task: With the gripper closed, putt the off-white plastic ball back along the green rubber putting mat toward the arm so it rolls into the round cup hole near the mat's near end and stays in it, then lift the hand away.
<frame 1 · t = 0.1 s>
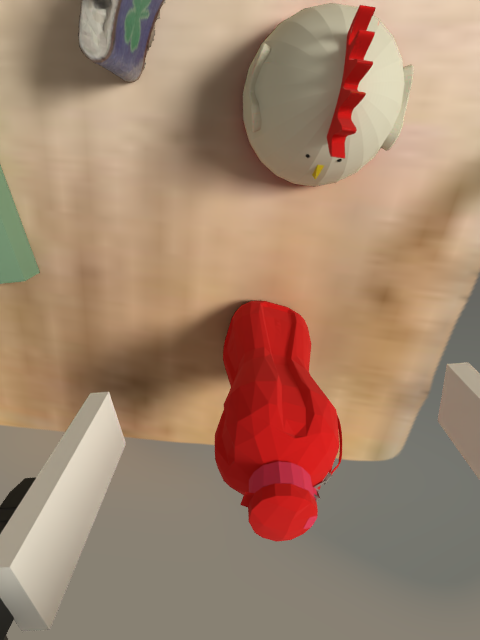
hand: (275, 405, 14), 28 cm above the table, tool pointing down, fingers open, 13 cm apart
water bottle: (271, 334, 45), on the table
kitchen timer: (315, 107, 34), on the table
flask: (142, 25, 32), on the table
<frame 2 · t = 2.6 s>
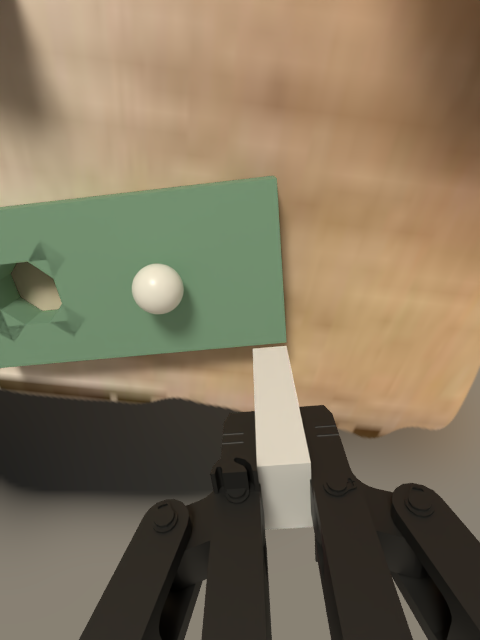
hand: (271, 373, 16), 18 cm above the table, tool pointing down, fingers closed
putting mat: (127, 274, 33), on the table
ball: (158, 289, 28), point 5 cm above the table, touching putting mat
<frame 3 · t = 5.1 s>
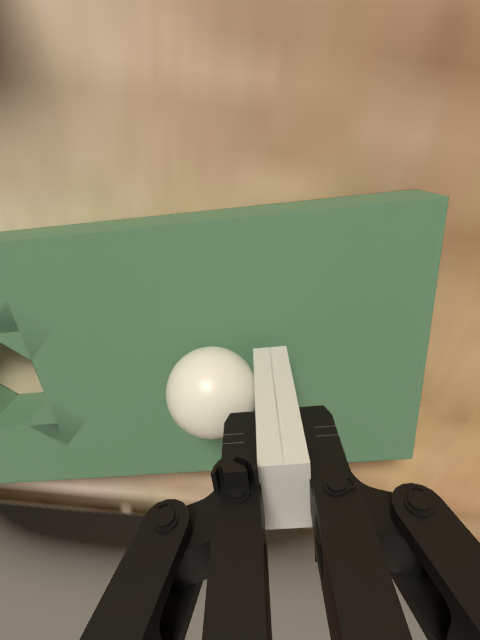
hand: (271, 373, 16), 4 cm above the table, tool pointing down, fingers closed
putting mat: (153, 343, 21), on the table
ball: (211, 391, 16), point 5 cm above the table, touching gripper, putting mat
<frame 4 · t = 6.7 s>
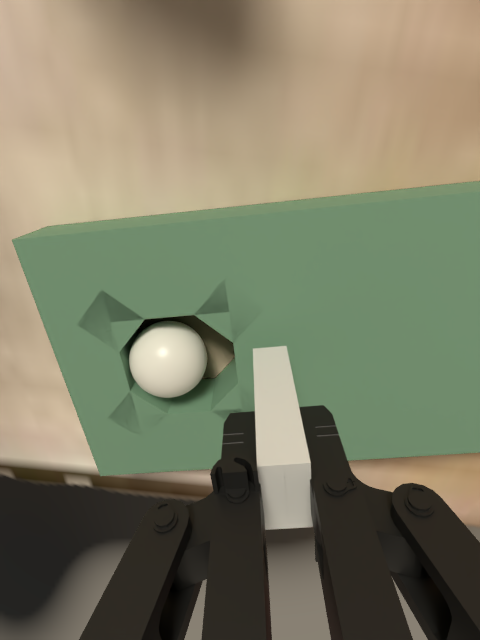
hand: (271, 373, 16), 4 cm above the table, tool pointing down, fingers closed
putting mat: (329, 327, 20), on the table
ball: (169, 358, 19), point 2 cm above the table, tilted 32°
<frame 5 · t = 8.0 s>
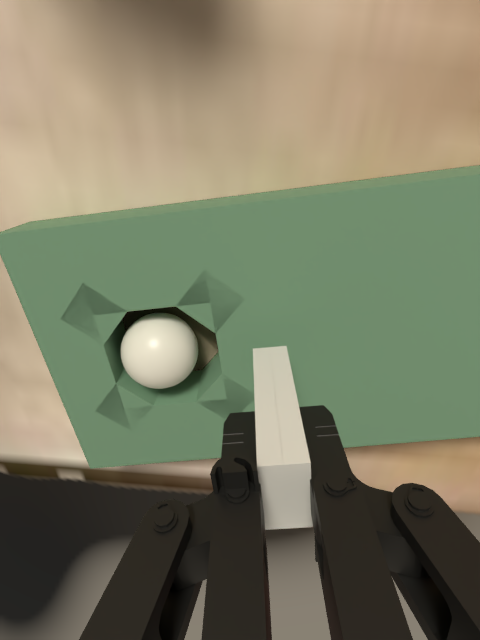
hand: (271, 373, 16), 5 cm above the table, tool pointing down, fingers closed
putting mat: (313, 317, 20), on the table
ball: (160, 350, 19), point 2 cm above the table, tilted 22°
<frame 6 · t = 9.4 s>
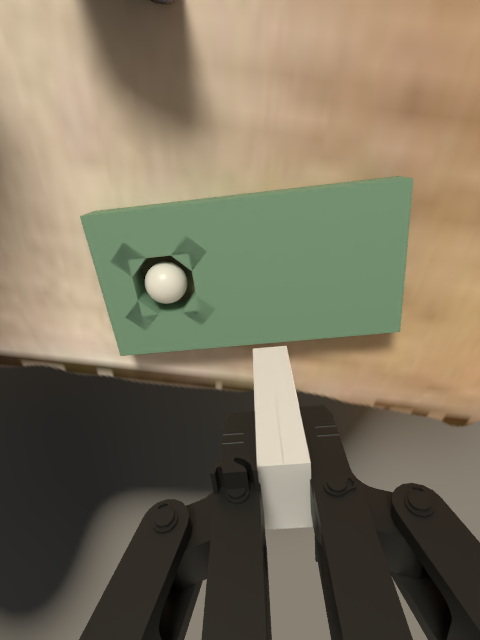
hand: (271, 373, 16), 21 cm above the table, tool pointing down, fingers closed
putting mat: (249, 268, 35), on the table
ball: (166, 282, 34), point 2 cm above the table, tilted 12°
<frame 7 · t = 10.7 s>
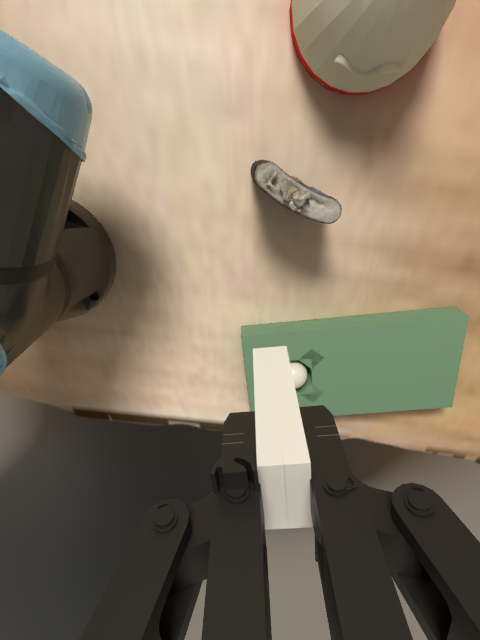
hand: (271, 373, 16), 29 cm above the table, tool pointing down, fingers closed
putting mat: (345, 361, 50), on the table
ball: (292, 374, 49), point 2 cm above the table
kitchen timer: (362, 9, 34), on the table
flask: (286, 186, 41), on the table
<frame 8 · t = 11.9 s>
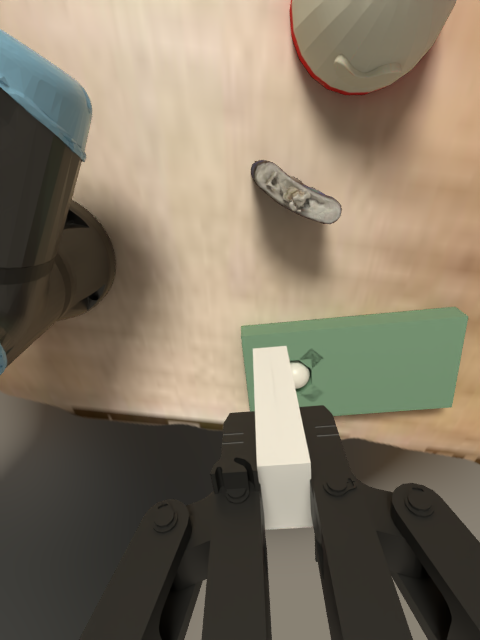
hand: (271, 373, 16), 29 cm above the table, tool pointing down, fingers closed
putting mat: (345, 361, 50), on the table
ball: (294, 373, 49), point 2 cm above the table, tilted 8°
kitchen timer: (362, 9, 34), on the table
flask: (286, 186, 41), on the table
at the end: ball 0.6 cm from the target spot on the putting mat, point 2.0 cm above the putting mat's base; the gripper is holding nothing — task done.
